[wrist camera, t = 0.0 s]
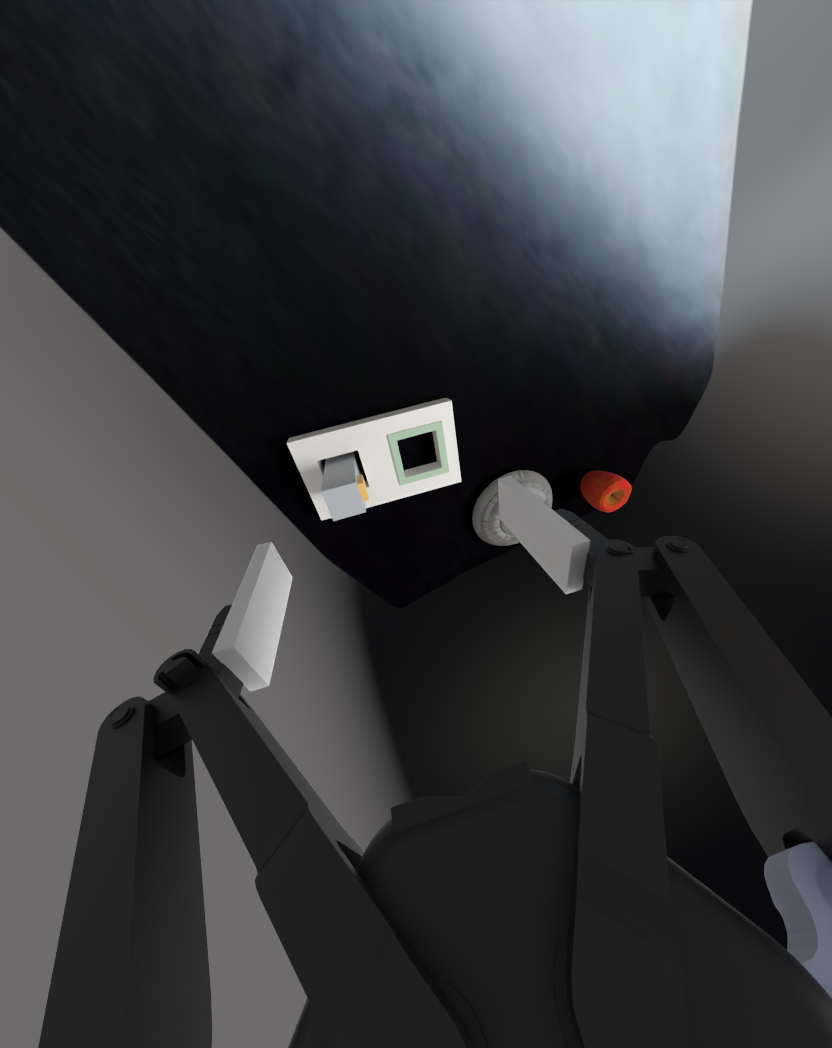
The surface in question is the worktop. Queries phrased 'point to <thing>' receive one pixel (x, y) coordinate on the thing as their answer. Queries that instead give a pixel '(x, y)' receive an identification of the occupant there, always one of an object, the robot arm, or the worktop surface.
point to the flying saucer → (488, 507)
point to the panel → (382, 453)
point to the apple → (605, 490)
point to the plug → (344, 487)
